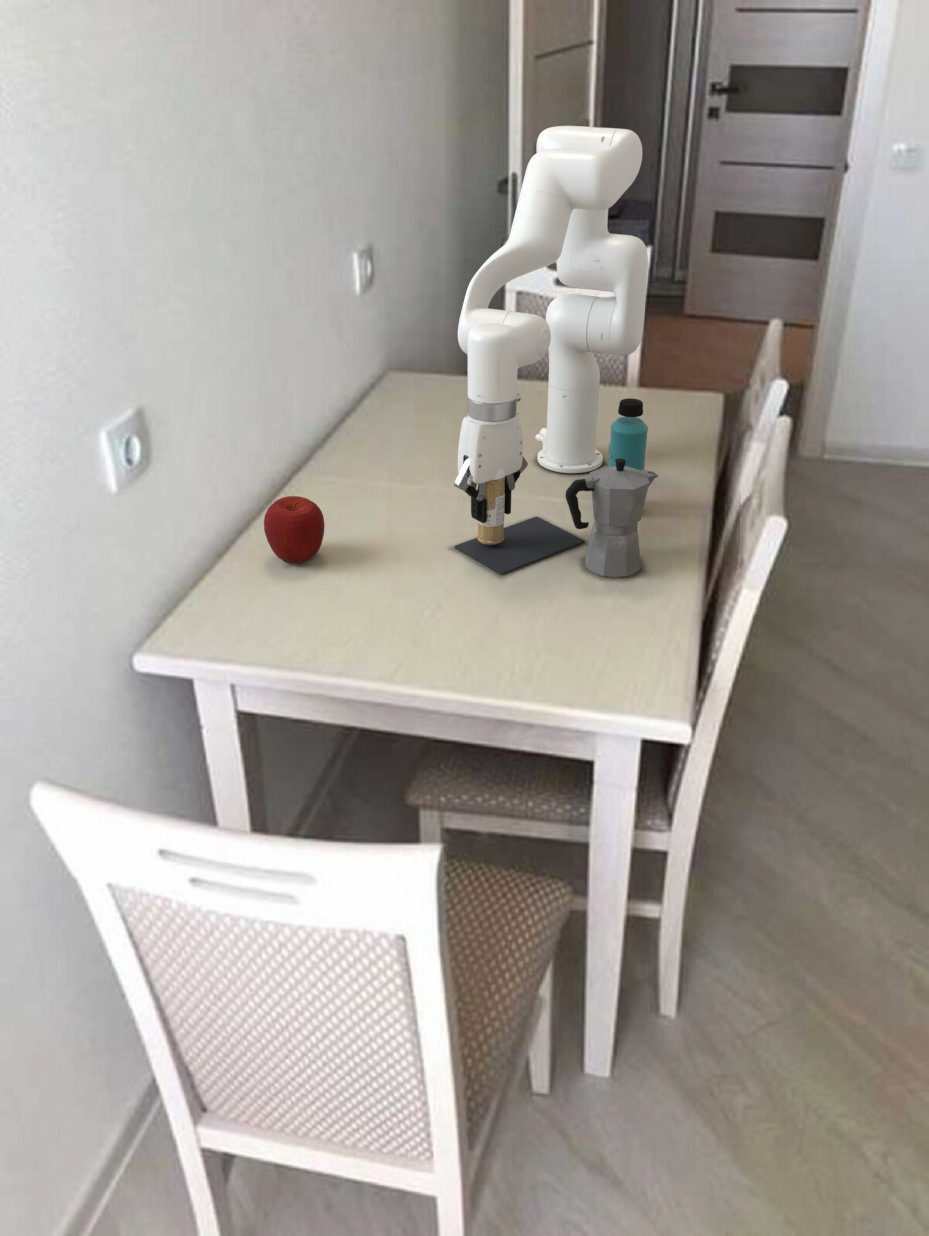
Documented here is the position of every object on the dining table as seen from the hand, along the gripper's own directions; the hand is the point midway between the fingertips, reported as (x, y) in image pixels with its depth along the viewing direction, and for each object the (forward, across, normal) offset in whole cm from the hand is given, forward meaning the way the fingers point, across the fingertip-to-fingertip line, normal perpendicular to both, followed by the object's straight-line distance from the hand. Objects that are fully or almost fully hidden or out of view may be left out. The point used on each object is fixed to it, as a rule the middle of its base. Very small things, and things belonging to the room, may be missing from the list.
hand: (491, 514), depth 171 cm
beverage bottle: (+6, -27, +4) cm, 28 cm away
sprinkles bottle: (+5, 0, 0) cm, 5 cm away
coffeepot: (+6, -10, +17) cm, 20 cm away
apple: (+6, +27, -16) cm, 32 cm away
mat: (+6, -4, +3) cm, 7 cm away
